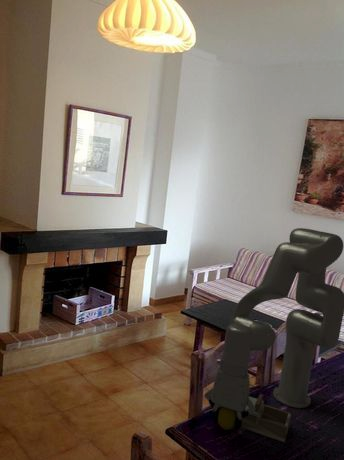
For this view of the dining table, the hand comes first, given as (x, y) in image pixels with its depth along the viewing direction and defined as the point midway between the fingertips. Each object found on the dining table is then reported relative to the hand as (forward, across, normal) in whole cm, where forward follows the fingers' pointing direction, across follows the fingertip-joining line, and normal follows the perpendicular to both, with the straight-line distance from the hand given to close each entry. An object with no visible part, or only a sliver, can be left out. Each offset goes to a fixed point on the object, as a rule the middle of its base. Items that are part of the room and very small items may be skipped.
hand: (226, 425), depth 121 cm
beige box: (+1, +8, +8) cm, 12 cm away
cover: (-3, +4, +8) cm, 10 cm away
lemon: (+2, 0, 0) cm, 2 cm away
